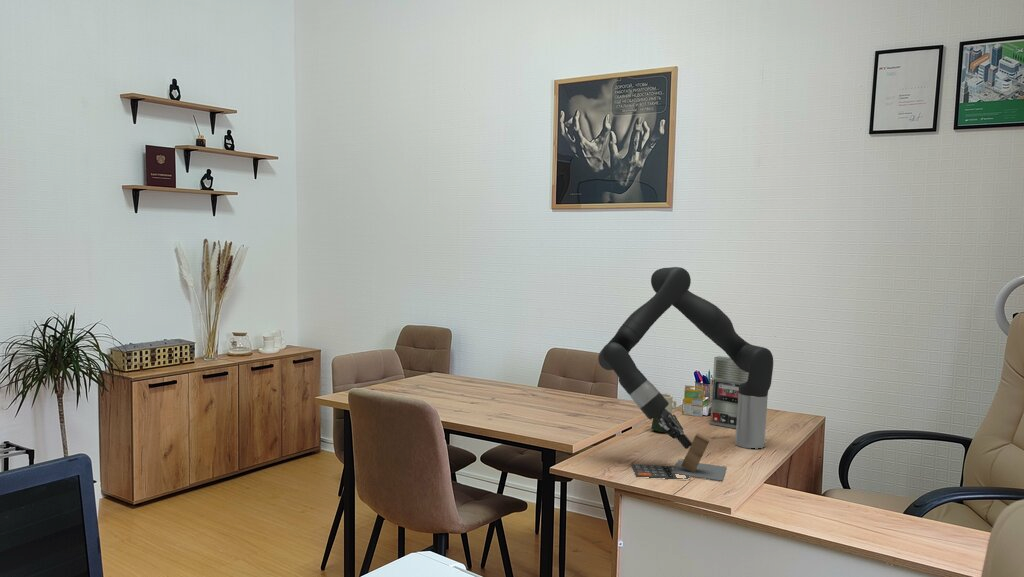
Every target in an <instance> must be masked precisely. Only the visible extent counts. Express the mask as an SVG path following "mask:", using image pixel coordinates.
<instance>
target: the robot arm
mask: <svg viewBox="0 0 1024 577" xmlns="http://www.w3.org/2000/svg"><path fill="white" fill-rule="evenodd" d="M691 281H692V279H691V275H690V273H689V272H688V271H687V269H685V268H683V267H680V266H679V267H678V266H673V267H662V268H659V269H657V270H655V271H654V272H653V273H652V275H651V276H650V284H651V288H652V289H653V291H654V292H655V294H654V295H653V296H652V297H650V299H649V300H647V301H646V302H644V304H642V305H641V306H640V307H638V308H637V309H635V311H633V312H632V313H631V314H630V315H629V316H628V318H626V319H625V321H624V322H623V323H622V324H621V326H620V327H619V329H618V330H617V331H616V333H615V335H614V336H613V337H612V338H611V339H610V341H609V342H608V343H607V344H605V345H604V346H603V348H602V349H601V350H600V352H599V354H598V357H597V359H598V364H599V366H601V368H603V369H604V370H606V371H614V374H616V376H617V377H618V382H619V384H620V386H621V387H622V388H623V389H624V390H625V392H626V393H627V394H628V395H629V397H630V398H631V400H632V401H633V402H634V403H635V405H636V406H637V407H638V408H639V410H641V412H642V413H643V414H644V415H645V417H647V419H648V420H653V418H654V417H656V418H657V420H658V421H659V422H658V423H659V424H660V426H661V429H662V430H663V431H664V432H663V433H665V434H666V435H668V436H669V437H671V438H672V439H673V440H677V441H678V442H679V444H681V445H682V446H683V448H684V449H685V450H687V449H689V448H690V446H691V444H692V442H693V441H691V440H690V439H689V437H688V436H687V435H686V434H685V433H684V432H685V431H684V428H683V426H682V425H681V422H680V421H679V420H678V418H677V416H676V415H675V414H673V413H672V412H670V413H669V412H668V411H667V410H666V409H665V408H666V407H667V406H668V405H669V403H668V401H667V400H666V399H665V398H664V397H663V396H662V394H661V393H662V392H660V391H659V390H658V389H657V387H656V386H655V385H654V384H653V383H652V382H651V381H650V380H649V379H647V377H646V376H645V375H644V373H642V371H640V369H639V368H638V367H637V365H636V364H635V362H634V360H633V358H632V357H631V354H630V352H631V351H632V349H633V348H635V346H636V345H638V343H639V342H640V341H641V340H642V338H643V337H644V336H645V334H647V332H648V331H649V330H650V328H652V326H653V325H654V324H655V323H656V322H657V320H658V319H660V317H662V315H663V314H664V313H665V312H667V310H669V309H670V308H671V307H672V306H673V307H674V308H676V309H677V310H678V311H679V312H680V313H681V314H682V315H683V316H684V317H685V318H686V319H687V320H689V321H690V322H691V323H692V324H693V325H694V326H695V327H696V328H697V329H698V330H699V331H700V332H701V333H703V334H704V336H706V337H707V338H709V340H710V341H712V342H713V343H714V344H715V345H716V346H718V347H719V348H720V349H721V350H723V351H724V353H725V354H727V357H730V358H731V359H732V360H733V362H734V363H735V364H736V365H737V366H738V367H739V368H740V369H741V370H743V371H745V372H749V375H748V380H747V382H745V383H742V384H740V385H739V393H738V408H737V424H736V428H735V442H734V443H735V445H736V446H739V447H740V448H744V449H751V448H755V449H754V450H759V449H758V448H761V449H764V448H765V441H766V429H767V428H766V426H767V412H768V398H769V397H768V395H769V390H770V388H771V385H772V380H773V379H772V378H773V373H774V372H773V371H774V356H773V353H772V352H771V350H770V349H768V348H767V347H763V346H758V345H755V344H751V343H749V342H747V341H746V340H744V339H743V338H742V337H741V336H740V335H739V334H738V333H737V331H736V330H735V328H734V325H733V322H732V320H731V319H730V317H729V316H728V315H727V314H726V312H725V313H724V311H722V310H721V309H720V307H719V306H717V305H716V304H713V302H711V301H708V300H707V299H705V298H703V297H700V296H699V295H697V294H694V293H693V292H691V290H689V289H690V286H691V284H692V282H691ZM763 447H764V448H763Z"/></svg>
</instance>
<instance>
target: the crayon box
mask: <svg viewBox="0 0 1024 577" xmlns="http://www.w3.org/2000/svg"><path fill="white" fill-rule="evenodd" d="M693 388H695V389H693ZM704 389H705V388H704V386H698V385H697V386H696V385H685V386H684V391H683V392H684V396H683V409H682V413H683V416H696V417H703V410H704V395H705V394H704V393H705V392H704Z"/></svg>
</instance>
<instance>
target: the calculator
mask: <svg viewBox="0 0 1024 577" xmlns="http://www.w3.org/2000/svg"><path fill="white" fill-rule="evenodd" d="M674 467H675V465H674V466H673V465H672V466H671V465H669V466H668V465H656V464H655V465H654V464H641V463H640V464H639V463H638V464H637V463H631V468H632V470H633V473H634V472H635V473H634V475H635V477H636V478H637V477H649V478H648V479H651V478H665V479H664V480H668V479H683V478H677V477H676V475H675V474H674V473H671V472H672V471H673V469H674ZM685 476H686V478H684V479H688V478H690V479H691V477H689V476H687V475H685Z"/></svg>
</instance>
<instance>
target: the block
mask: <svg viewBox="0 0 1024 577" xmlns="http://www.w3.org/2000/svg"><path fill="white" fill-rule="evenodd" d="M710 441H711V438H709V437H707V436H706V435H703V434H702V433H699V432H696V435H695V436H694V438H693V440H692V441H691V442H692V444H691V446H690V447H689V448H688V451H687V453H686V455H685V457H684V460H682V461H683V463H682V465H681V466H682V467H684V468H686V469H687V470H689V471H691V472H693V473H694V472H695V470H696V468H697V466H698V464H699V463H701V459H702V457H703V456H704V454H705V452H706V449H707V448H708V446H709V444H710Z"/></svg>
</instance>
